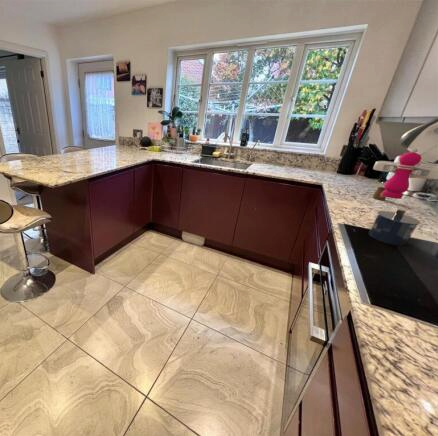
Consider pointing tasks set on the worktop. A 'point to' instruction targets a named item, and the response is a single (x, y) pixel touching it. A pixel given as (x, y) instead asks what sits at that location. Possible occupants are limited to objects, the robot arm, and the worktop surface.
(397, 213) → the pot lid
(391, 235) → the pot
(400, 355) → the worktop surface
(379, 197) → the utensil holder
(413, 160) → the pepper mill
